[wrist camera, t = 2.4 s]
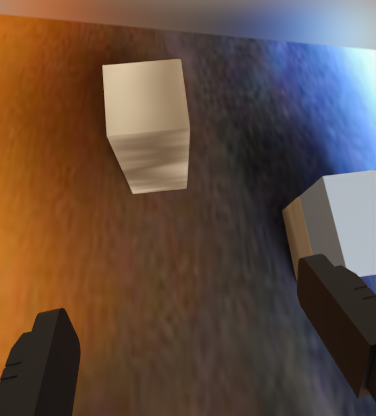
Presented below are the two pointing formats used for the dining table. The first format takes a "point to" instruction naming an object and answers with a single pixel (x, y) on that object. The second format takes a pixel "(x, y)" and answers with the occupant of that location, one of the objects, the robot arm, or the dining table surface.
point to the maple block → (148, 123)
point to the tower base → (296, 232)
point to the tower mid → (343, 220)
